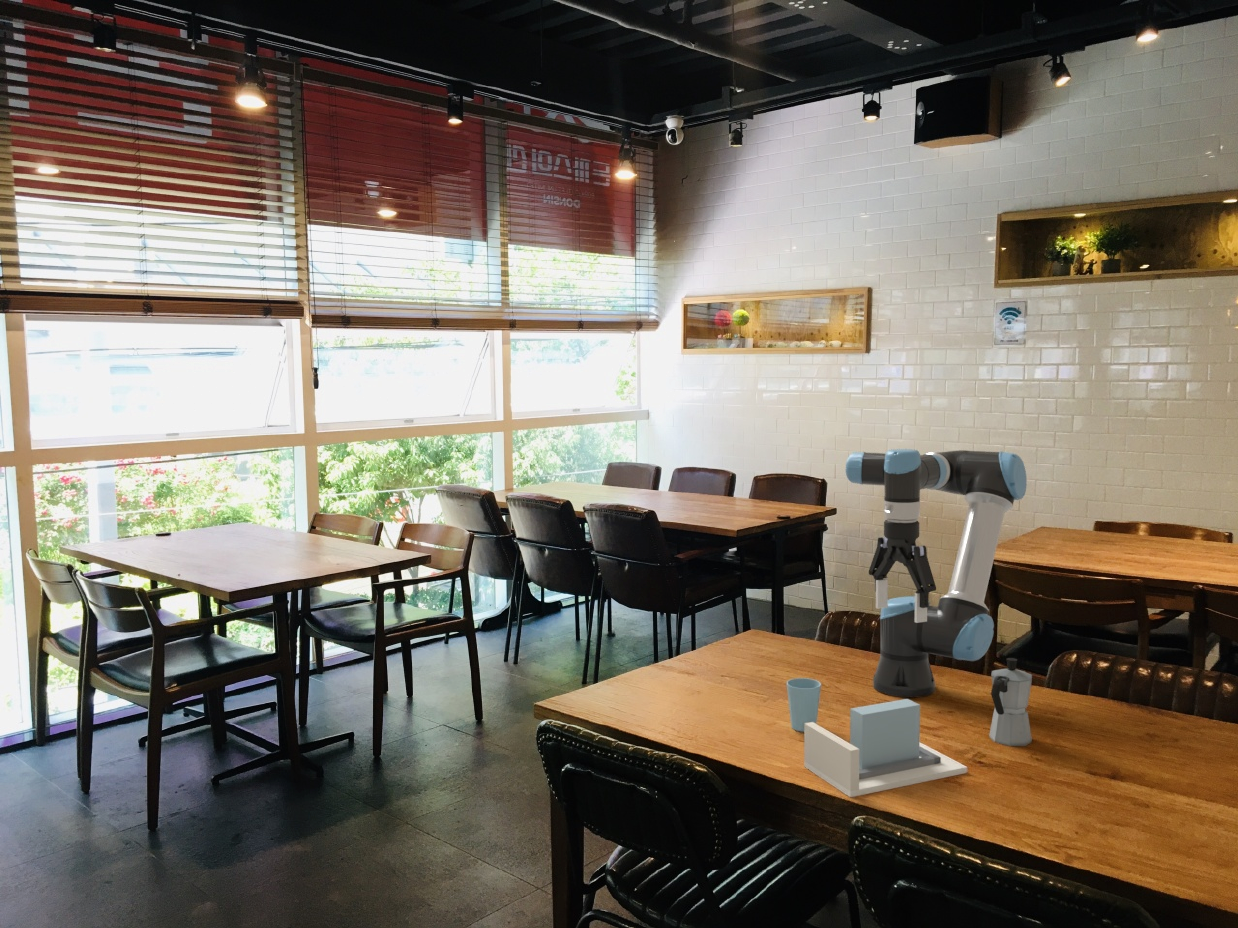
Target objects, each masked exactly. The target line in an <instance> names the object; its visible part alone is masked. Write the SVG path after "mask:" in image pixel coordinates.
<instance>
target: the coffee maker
mask: <svg viewBox="0 0 1238 928" xmlns="http://www.w3.org/2000/svg"><path fill="white" fill-rule="evenodd" d="M1005 659H1006V665H1007V668H1001V669H995V670H991V674H990V675H991V682H992V687H991V692H990V695H991V698H992V703H993V706H994V708H993V709H994V710H993V713H992V718H991V719H992V720H991V724H990V729H989V730H990V731H989V735H988V737H989V738H990V739H991V740H992V742H994V743H996V744H1000V745H1004V746H1008V747H1026V746H1027V745H1029V744H1031V743H1032V742H1033V741H1032V740H1033V739H1032V733H1031V732H1032V731H1031V726H1030V719H1029V713H1028V711H1027V710H1026V708H1028V706H1029V699H1030V694H1031V693H1030V692H1031V688H1032V687H1031V685H1032V681H1033V679H1032V678H1033V675H1032V674H1031V673H1028V672H1026V671H1025V670H1020V669H1017V663H1018V659H1017V658H1015V657H1008V658H1005Z"/></svg>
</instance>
